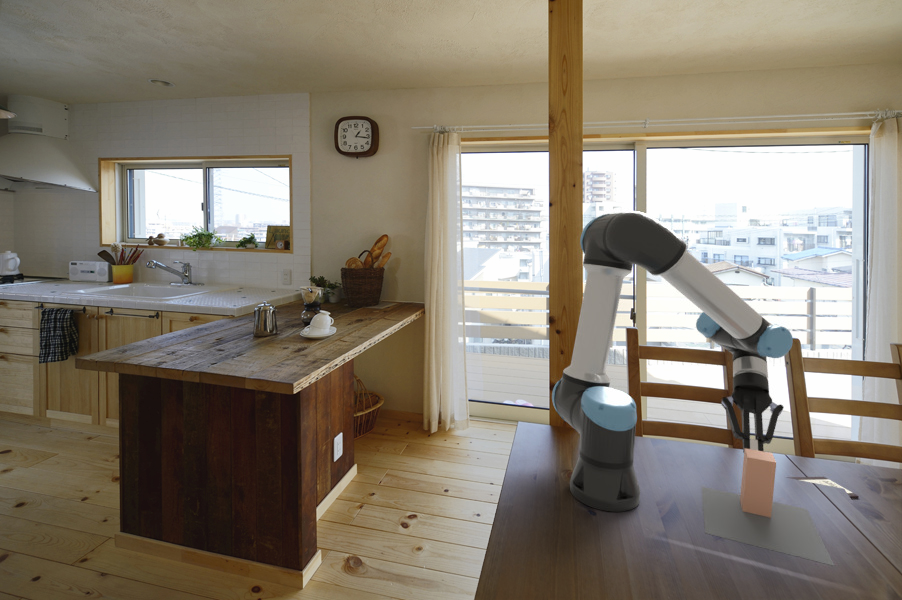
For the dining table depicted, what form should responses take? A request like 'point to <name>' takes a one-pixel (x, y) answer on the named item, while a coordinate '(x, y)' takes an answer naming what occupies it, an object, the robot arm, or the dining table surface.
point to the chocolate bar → (824, 483)
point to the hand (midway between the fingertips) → (754, 468)
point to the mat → (763, 526)
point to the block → (757, 482)
